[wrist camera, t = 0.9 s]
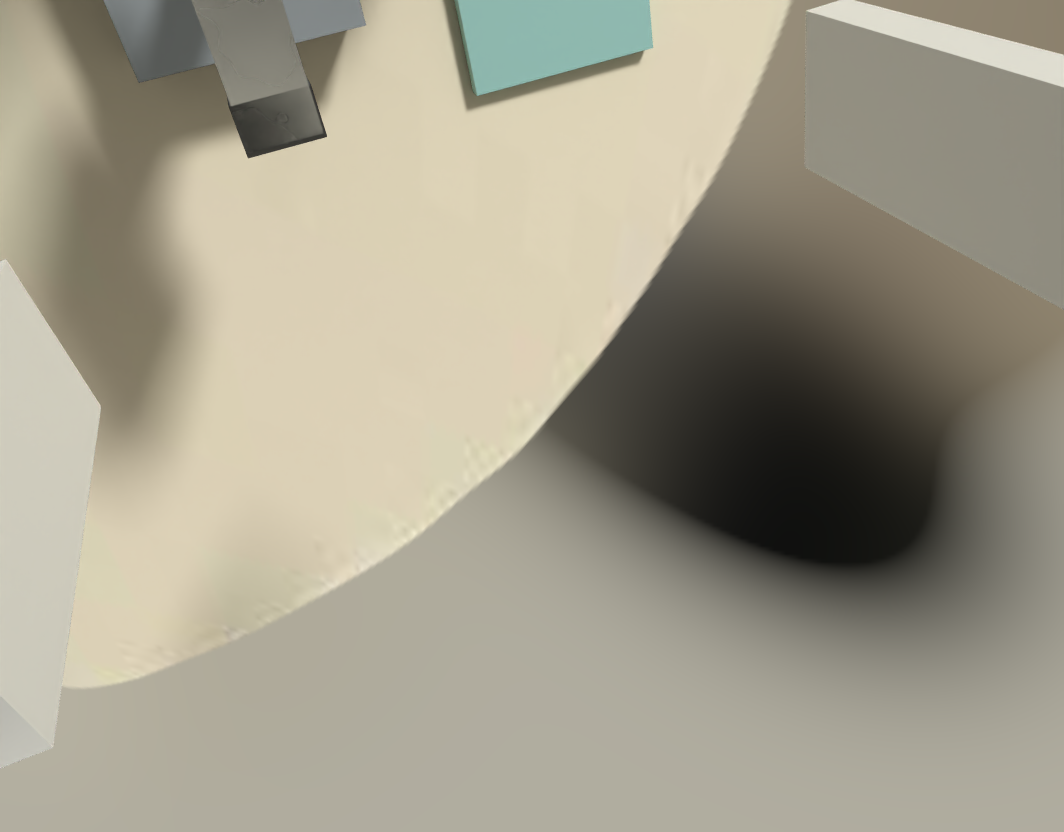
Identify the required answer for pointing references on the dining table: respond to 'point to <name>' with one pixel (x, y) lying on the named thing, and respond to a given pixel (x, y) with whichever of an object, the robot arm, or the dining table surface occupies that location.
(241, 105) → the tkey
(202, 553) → the dining table surface
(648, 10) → the coaster
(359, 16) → the block
